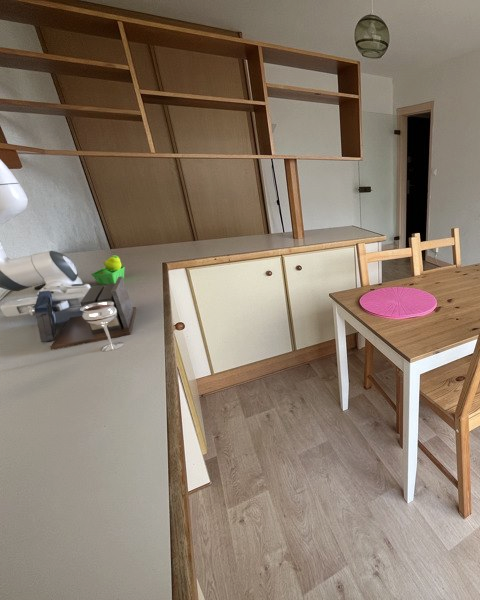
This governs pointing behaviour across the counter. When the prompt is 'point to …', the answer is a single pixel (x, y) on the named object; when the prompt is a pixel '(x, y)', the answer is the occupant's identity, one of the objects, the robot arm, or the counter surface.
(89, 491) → the counter surface
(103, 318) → the wineglass
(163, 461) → the counter surface
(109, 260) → the fruit basket
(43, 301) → the vhs cassette tape
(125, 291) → the book rack
